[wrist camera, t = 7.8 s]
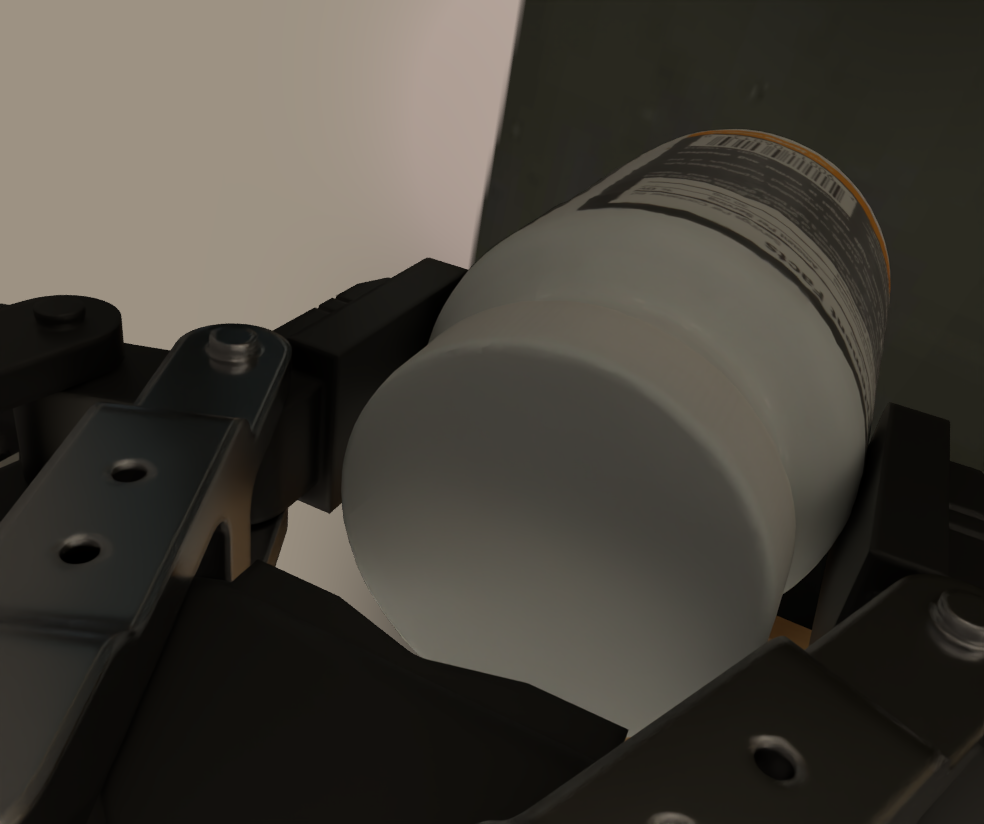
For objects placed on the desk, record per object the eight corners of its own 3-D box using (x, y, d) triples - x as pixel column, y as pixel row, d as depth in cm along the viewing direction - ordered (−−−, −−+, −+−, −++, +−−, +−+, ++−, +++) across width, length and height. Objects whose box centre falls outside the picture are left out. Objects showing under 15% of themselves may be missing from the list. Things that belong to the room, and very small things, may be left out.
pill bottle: (668, 446, 19) (460, 803, 11) (540, 207, 18) (207, 410, 10) (947, 352, 16) (943, 759, 8) (811, 54, 15) (643, 172, 7)
